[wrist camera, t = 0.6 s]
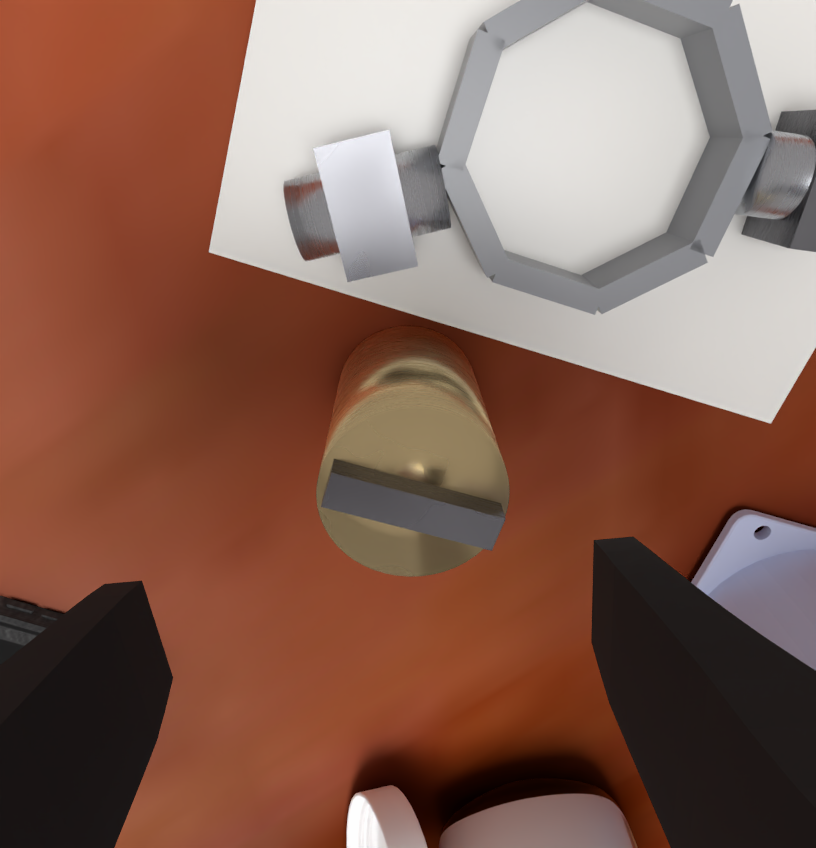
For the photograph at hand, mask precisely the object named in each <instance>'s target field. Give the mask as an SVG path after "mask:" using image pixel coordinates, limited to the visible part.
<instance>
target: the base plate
mask: <svg viewBox="0 0 816 848" xmlns="http://www.w3.org/2000/svg"><path fill="white" fill-rule="evenodd" d="M801 110H816V0H256V5H255V10H254V15H253V20H252V26H251V31H250V36H249V42H248V47H247V52H246V57H245V63H244V68H243V73H242V79H241V84H240V89H239V95H238V100H237V105H236V110H235V116H234V121H233V126H232V132H231V137H230V142H229V147H228V153H227V158H226V163H225V169H224V174H223V179H222V185H221V190H220V195H219V200H218V206H217V211H216V216H215V222H214V227H213V232H212V237H211V243H210V248H209V252H210V253H213V254H216V255H220V256H223V257H226V258H229V259H233V260H236V261H239V262H242V263H246V264H249V265H252V266H256V267H259V268H262V269H265V270H269V271H272V272H275V273H279V274H282V275H285V276H288V277H292V278H295V279H298V280H301V281H305V282H308V283H311V284H315V285H318V286H321V287H324V288H328V289H331V290H334V291H338V292H341V293H344V294H347V295H351V296H354V297H357V298H361V299H364V300H367V301H370V302H374V303H377V304H380V305H383V306H387V307H390V308H393V309H397V310H400V311H403V312H406V313H410V314H413V315H416V316H420V317H423V318H426V319H429V320H433V321H436V322H439V323H442V324H446V325H449V326H452V327H456V328H459V329H462V330H465V331H469V332H472V333H475V334H479V335H482V336H485V337H488V338H492V339H495V340H498V341H501V342H505V343H508V344H511V345H515V346H518V347H521V348H524V349H528V350H531V351H534V352H538V353H541V354H544V355H547V356H551V357H554V358H557V359H561V360H564V361H567V362H570V363H574V364H577V365H580V366H583V367H587V368H590V369H593V370H597V371H600V372H603V373H606V374H610V375H613V376H616V377H620V378H623V379H626V380H629V381H633V382H636V383H639V384H642V385H646V386H649V387H652V388H656V389H659V390H662V391H665V392H669V393H672V394H675V395H679V396H682V397H685V398H688V399H692V400H695V401H698V402H701V403H705V404H708V405H711V406H715V407H718V408H721V409H724V410H728V411H731V412H734V413H738V414H741V415H744V416H747V417H751V418H754V419H757V420H761V421H764V422H767V423H770V424H771V422H772V421H773V419H774V417H775V416H776V414H777V412H778V411H779V409H780V407H781V405H782V404H783V402H784V400H785V399H786V397H787V395H788V394H789V392H790V390H791V388H792V387H793V385H794V383H795V382H796V380H797V378H798V377H799V375H800V373H801V371H802V370H803V368H804V366H805V365H806V363H807V361H808V360H809V358H810V356H811V354H812V353H813V351H814V349H815V348H816V252H811V251H804V250H796V249H790V248H786V247H783V246H779V245H776V244H772V243H769V242H766V241H762V240H759V239H755V238H752V237H748V236H745V235H742V234H741V233H742V230H743V227H744V224H745V221H746V218H747V216H745V215H738V214H735V212H736V210H737V208H738V206H739V204H740V202H741V200H742V198H743V196H744V194H745V192H746V190H747V188H748V186H749V184H750V182H751V180H752V178H753V176H754V174H755V172H756V170H757V168H758V165H759V163H760V161H761V159H762V157H763V155H764V153H765V151H766V149H767V147H768V145H769V142H770V138H767V137H764V135H766V134H768V133H770V132H772V130H774V131H775V130H776V126H777V123H778V120H779V117H780V114H781V112H782V111H801ZM386 130H390V134H391V138H392V143H393V148H394V153H395V154H398V153H402V152H406V151H410V150H414V149H419V148H423V147H427V146H431V145H435V146H436V149H437V152H438V156H439V160H440V165H441V169H442V174H443V179H444V184H445V189H446V194H447V200H448V206H449V212H450V220H451V228H450V229H445V230H441V231H437V232H432V233H428V234H424V235H419V236H415V237H413V242H414V247H415V252H416V257H417V262H418V266H417V267H413V268H408V269H404V270H400V271H395V272H391V273H386V274H382V275H378V276H373V277H369V278H364V279H360V280H356V281H351V282H347V278H346V274H345V271H344V267H343V263H342V259H341V255H340V254H337V255H333V256H328V257H324V258H320V259H315V260H311V261H305V260H304V259H303V258H302V256H301V254H300V252H299V249H298V247H297V244H296V242H295V239H294V236H293V233H292V229H291V226H290V222H289V218H288V214H287V210H286V205H285V199H284V190H283V184H284V181H285V180H290V179H294V178H298V177H302V176H306V175H310V174H315V173H319V170H318V166H317V162H316V159H315V155H314V151H313V148H316V147H320V146H324V145H328V144H332V143H336V142H340V141H345V140H349V139H353V138H357V137H361V136H365V135H369V134H373V133H377V132H382V131H386Z"/></svg>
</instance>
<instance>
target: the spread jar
mask: <svg viewBox="0 0 816 848" xmlns="http://www.w3.org/2000/svg"><path fill="white" fill-rule="evenodd" d="M347 848H428V847H427V844H426V841H425V838H424V835H423V832H422V830H421V827H420V824H419V822H418V819H417V817H416V815H415V813H414V811H413V809H412V806H411V805H410V803H409V801H408V800H407V798H406V797H405V795H404V794H403V793H402V792H401V791H400V790H399V789H398V788H397V787H395V786H393V785H389V786H385V787H380V788H376V789H372V790H367V791H363V792H359V793H355V795H354V796H353V797H352V799H351V802H350V805H349V810H348V817H347ZM439 848H638V847H637V845H636V842H635V839H634V837H633V834H632V832H631V829H630V827H629V824H628V822H627V820H626V818H625V816H624V815H623V813H622V811H621V809H620V808H619V806H618V804H617V803H616V802H615V801H614V799H613V798H612V797H611V796H610V795H609V794H607V793H606V792H605V791H604V790H602V789H600V788H598V787H596V786H593V785H591V784H587V783H583V782H579V781H573V780H564V779H556V778H533V779H525V780H520V781H515V782H511V783H508V784H505V785H502V786H499V787H497V788H495V789H492V790H490V791H489V792H487V793H485V794H483V795H481V796H479V797H478V798H476V799H474V800H472V801H471V802H469V803H468V804H466V805H465V806H464V807H462V808H461V809H459V810H458V811H457V812H455V813H454V814H453V815H452V816H451V818H450V819H449V820H448V821H447V823H446V824H445V826H444V828H443V831H442V834H441V837H440V841H439Z"/></svg>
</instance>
